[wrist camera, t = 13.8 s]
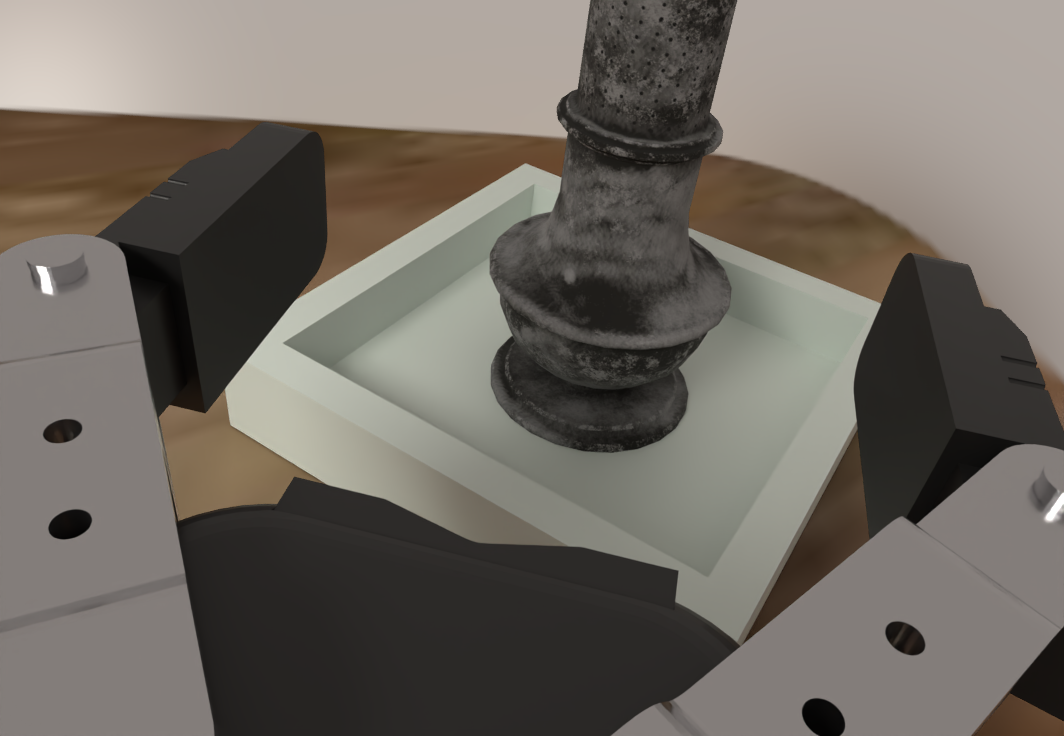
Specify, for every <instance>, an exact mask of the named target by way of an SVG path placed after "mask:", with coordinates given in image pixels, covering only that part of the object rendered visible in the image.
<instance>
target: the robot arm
mask: <svg viewBox="0 0 1064 736" xmlns="http://www.w3.org/2000/svg"><path fill="white" fill-rule="evenodd" d="M326 243H327V212H326V189H325V166H324V149H323V143H322V140H321V138H320V136H319V134H318V133H316V132H313V131H308V130H303V129H298V128H293V127H288V126H283V125H278V124H273V123H268V122H263V123H261V124H259V125H258V126H257V127H255V128H254V129H253V130H252V131H250V132H249V133H248V134H247V135H246V136H244V137H243V138H242V139H241V140H240V141H238V142H237V143H236V144H235V145H234V146H232V147H231V148H230V149H229V150H227V149H221V150H218V151H215V152H213V153H210V154H207V155H205V156H202V157H199V158H197V159H194V160H191V161H189V162H188V163H187V164H186V165H184V166H183V167H182V168H181V169H179V170H178V171H177V172H176V173H174V174H173V175H172V176H171V177H169V178H168V183H167V182H163V183H162V184H161V185H159V186H158V187H157V188H156V189H154V190H153V191H152V192H150V197H147V196H145V197H144V198H143V199H142V200H140V201H139V202H138V203H137V204H135V205H134V206H133V207H132V208H130V209H129V210H128V211H127V212H125V213H124V214H123V215H122V216H120V217H119V218H118V219H117V220H115V221H114V222H113V223H112V224H110V225H109V226H108V227H107V228H105V229H104V230H103V231H102V232H100V233H99V234H98V235H96V236H95V237H94V236H89V235H79V234H64V235H53V236H47V237H41V238H37V239H33V240H30V241H27V242H24V243H21V244H19V245H16V246H14V247H12V248H10V249H9V250H7V251H5V252H3V253H2V254H1V255H0V736H975V735H976V733H977V732H978V731H979V730H980V729H981V727H982V726H983V725H984V724H985V723H986V721H987V720H988V719H989V718H990V717H991V715H992V714H993V713H994V712H995V711H996V709H997V708H998V707H999V706H1000V705H1001V703H1002V702H1003V701H1004V700H1005V699H1006V697H1007V696H1008V695H1009V694H1010V693H1011V694H1013V695H1015V696H1016V697H1018V698H1020V699H1022V700H1024V701H1026V702H1028V703H1030V704H1032V705H1034V706H1036V707H1038V708H1039V709H1041V710H1043V711H1045V712H1047V713H1049V714H1051V715H1053V716H1055V717H1057V718H1059V719H1060V720H1062V721H1064V431H1063V428H1062V426H1061V423H1060V421H1059V418H1058V415H1057V413H1056V410H1055V408H1054V405H1053V403H1052V400H1051V398H1050V395H1049V392H1048V391H1047V390H1044V388H1045V382H1044V380H1043V377H1042V374H1041V372H1040V369H1039V368H1036V364H1037V362H1036V359H1035V356H1034V354H1033V351H1032V349H1031V346H1030V344H1029V341H1028V339H1027V336H1026V335H1025V334H1024V333H1023V332H1022V331H1021V330H1020V329H1019V328H1018V327H1017V326H1016V325H1015V324H1014V323H1013V322H1012V321H1011V320H1010V319H1009V318H1008V317H1007V316H1006V315H1005V314H1004V313H1003V312H1002V311H1001V310H999V309H994V308H989V307H985V306H984V305H983V302H982V299H981V296H980V294H979V291H978V288H977V285H976V282H975V279H974V276H973V273H972V270H971V268H970V267H969V265H967V264H963V263H958V262H953V261H948V260H943V259H938V258H933V257H928V256H923V255H918V254H913V253H908V254H906V255H905V256H904V257H903V258H902V260H901V261H900V263H899V265H898V267H897V269H896V271H895V273H894V276H893V278H892V280H891V282H890V285H889V287H888V289H887V292H886V294H885V296H884V299H883V301H882V303H881V306H880V308H879V310H878V312H877V315H876V317H875V319H874V322H873V324H872V326H871V329H870V331H869V333H868V335H867V338H866V340H865V342H864V345H863V347H862V350H861V353H860V355H859V359H858V362H857V367H856V371H855V377H854V390H853V391H854V402H855V411H856V420H857V429H858V438H859V447H860V456H861V465H862V474H863V483H864V492H865V501H866V510H867V519H868V528H869V537H870V540H869V541H868V542H867V543H865V544H864V545H863V546H862V547H860V548H859V549H858V550H857V551H856V552H854V553H853V554H852V555H851V556H850V557H848V558H847V559H846V560H845V561H844V562H842V563H841V564H840V565H839V566H837V567H836V568H835V569H834V570H833V571H831V572H830V573H829V574H828V575H827V576H825V577H824V578H823V579H822V580H820V581H819V582H818V583H817V584H816V585H814V586H813V587H812V588H811V589H810V590H808V591H807V592H806V593H805V594H803V595H802V596H801V597H800V598H799V599H797V600H796V601H795V602H794V603H793V604H791V605H790V606H789V607H788V608H787V609H785V610H784V611H783V612H782V613H780V614H779V615H778V616H777V617H776V618H774V619H773V620H772V621H771V622H770V623H768V624H767V625H766V626H765V627H763V628H762V629H761V630H760V631H759V632H757V633H756V634H755V635H754V636H753V637H751V638H750V639H749V640H748V641H746V642H745V643H744V644H743V645H742V646H740V645H739V644H738V643H737V642H736V641H735V640H734V639H733V638H731V637H730V636H729V635H727V634H726V633H725V632H723V631H722V630H721V629H720V628H718V627H717V626H716V625H714V624H713V623H712V622H710V621H708V620H707V619H705V618H704V617H702V616H700V615H699V614H697V613H696V612H694V611H692V610H691V609H689V608H687V607H685V606H683V605H681V604H679V603H677V602H675V599H676V590H677V581H678V572H679V571H678V570H674V569H670V568H665V567H661V566H657V565H653V564H649V563H645V562H641V561H637V560H633V559H629V558H625V557H620V556H616V555H612V554H608V553H604V552H600V551H596V550H592V549H588V548H584V547H572V546H544V545H516V544H489V543H478V542H474V541H471V540H468V539H466V538H464V537H462V536H460V535H458V534H455V533H453V532H451V531H449V530H447V529H445V528H443V527H441V526H439V525H437V524H435V523H433V522H431V521H429V520H427V519H425V518H423V517H421V516H419V515H417V514H415V513H413V512H411V511H409V510H407V509H405V508H403V507H401V506H399V505H396V504H394V503H392V502H390V501H388V500H386V499H383V498H379V497H375V496H371V495H367V494H363V493H359V492H354V491H350V490H346V489H342V488H338V487H334V486H330V485H326V484H322V483H318V482H314V481H309V480H305V479H301V478H297V477H294V478H293V480H292V481H291V483H290V485H289V486H288V488H287V489H286V491H285V493H284V494H283V496H282V498H281V499H280V501H279V502H278V504H257V505H242V506H236V507H230V508H223V509H218V510H214V511H210V512H206V513H202V514H198V515H195V516H192V517H189V518H186V519H183V520H180V519H179V514H178V509H177V504H176V499H175V494H174V489H173V484H172V479H171V474H170V469H169V464H168V459H167V454H166V449H165V444H164V439H163V434H162V429H161V424H160V420H159V416H160V415H161V414H162V413H163V411H164V410H165V409H166V408H167V407H168V406H169V405H173V406H177V407H181V408H185V409H190V410H194V411H198V412H202V413H206V412H207V411H208V409H209V408H210V407H211V406H212V404H213V403H214V402H215V401H216V399H217V398H218V397H219V396H220V394H221V393H222V392H223V391H224V389H225V388H226V387H227V386H228V384H229V383H230V382H231V380H232V379H233V378H234V377H235V375H236V374H237V373H238V372H239V370H240V369H241V368H242V367H243V365H244V364H245V363H246V362H247V360H248V359H249V358H250V357H251V355H252V354H253V353H254V352H255V350H256V349H257V348H258V346H259V345H260V344H261V343H262V341H263V340H264V339H265V338H266V336H267V335H268V334H269V333H270V331H271V330H272V329H273V328H274V326H275V325H276V324H277V323H278V321H279V320H280V319H281V317H282V316H283V315H284V314H285V312H286V311H287V310H288V309H289V307H290V306H291V305H292V304H293V302H294V301H295V300H296V299H297V297H298V296H299V295H300V294H301V292H302V291H303V290H304V289H305V287H306V286H307V285H308V283H309V282H310V281H311V280H312V278H313V277H314V276H315V275H316V273H317V272H318V270H319V268H320V266H321V263H322V260H323V258H324V254H325V249H326Z"/></svg>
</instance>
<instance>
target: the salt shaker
mask: <svg viewBox="0 0 1064 736" xmlns="http://www.w3.org/2000/svg"><path fill="white" fill-rule="evenodd" d="M736 3H737V0H591V1H590V8H589V15H588V22H587V29H586V36H585V43H584V50H583V57H582V64H581V70H580V77H579V84H578V89H577V90H574V91H572V92H570V93H569V94H567V95H566V96H565V97H563V98H562V99H561V100H560V102H559V104H558V106H557V116H558V120H559V121H560V123H561V124H562V125H563V127H564V128H565V129H566V131H567V132H568V136H567V143H566V150H565V158H564V165H563V172H562V179H561V186H560V192H559V194H558V197H557V200H556V202H555V205H554V208H553V210H552V211H551V212H547V213H542V214H537V215H534V216H532V217H529V218H527V219H525V220H523V221H520V222H518V223H516V224H514V225H513V226H512V227H510V228H509V229H508V230H507V231H506V232H504V233H503V234H502V235H501V236H500V237H498V239H497V241H496V243H495V244H494V246H493V248H492V250H491V252H490V273H489V274H490V276H491V278H492V280H493V283H494V285H495V287H496V289H497V291H498V293H499V294H500V305H501V308H502V310H503V313H504V316H505V318H506V321H507V324H508V326H509V329H510V331H511V333H512V335H513V336H511V337H510V338H509V339H508V340H507V341H506V342H505V343H504V344H503V345H502V346H501V347H500V348H499V349H498V350H497V352H496V355H495V357H494V359H493V361H492V364H491V387H492V390H493V392H494V395H495V397H496V400H497V402H498V403H499V405H500V406H501V407H502V408H503V409H504V411H505V412H506V413H507V414H508V415H509V417H510V418H511V419H512V420H514V421H515V422H516V423H518V424H519V425H520V426H522V427H523V428H525V429H526V430H527V431H529V432H530V433H531V434H534V435H536V436H538V437H540V438H543V439H545V440H547V441H549V442H552V443H554V444H556V445H560V446H564V447H568V448H572V449H577V450H581V451H588V452H606V453H614V452H621V451H628V450H635V449H639V448H642V447H645V446H647V445H650V444H652V443H655V442H658V441H660V440H661V439H663V438H664V437H665V436H666V435H668V434H669V433H670V432H672V431H673V430H674V429H676V427H677V426H678V424H679V422H680V421H681V419H682V418H683V416H684V414H685V412H686V407H687V400H688V390H687V386H686V382H685V378H684V376H683V374H682V373H681V371H680V370H679V367H680V366H681V365H682V364H683V363H684V362H685V361H686V360H687V359H688V358H689V357H690V356H691V355H692V354H693V352H694V351H695V350H696V349H697V348H698V347H699V345H700V344H701V342H702V341H703V339H704V338H705V336H706V335H707V333H708V331H710V330H711V329H713V328H714V327H715V326H717V325H718V324H719V323H720V322H721V320H722V319H723V317H724V315H725V314H726V312H727V311H728V309H729V307H730V301H731V290H732V287H731V285H730V282H729V279H728V277H727V274H726V271H725V269H724V268H723V267H722V265H721V264H720V263H719V262H718V260H717V259H716V258H715V257H714V256H713V254H712V253H711V252H710V251H709V250H707V249H706V248H705V247H703V246H702V245H701V244H699V243H698V242H697V241H695V240H694V239H693V238H692V237H690V236H689V229H688V225H689V210H690V206H691V202H692V198H693V194H694V190H695V186H696V182H697V178H698V173H699V169H700V165H701V161H702V157H703V156H705V155H708V154H710V153H712V152H714V151H715V150H716V149H717V147H718V146H719V145H720V144H721V142H722V136H723V130H722V128H721V126H720V124H719V122H718V120H717V119H716V118H715V117H714V116H713V115H712V114H711V113H710V109H711V105H712V101H713V97H714V93H715V89H716V85H717V81H718V77H719V73H720V69H721V64H722V60H723V56H724V52H725V48H726V44H727V40H728V36H729V32H730V27H731V24H732V19H733V15H734V11H735V7H736Z"/></svg>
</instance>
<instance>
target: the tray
mask: <svg viewBox="0 0 1064 736" xmlns="http://www.w3.org/2000/svg"><path fill="white" fill-rule="evenodd" d="M561 179H562V178H561V177H559V176H556V175H553V174H551V173H548V172H546V171H543V170H541V169H538V168H536V167H533V166H531V165H528V164H526V163H525V164H524V165H522V166H520V167H519V168H517V169H515V170H514V171H512V172H510V173H509V174H507V175H505V176H504V177H502V178H500V179H498V180H497V181H495V182H493V183H492V184H490V185H488V186H487V187H485V188H483V189H482V190H480V191H478V192H477V193H475V194H473V195H472V196H470V197H468V198H467V199H465V200H463V201H461V202H460V203H458V204H456V205H455V206H453V207H451V208H450V209H448V210H446V211H445V212H443V213H441V214H440V215H438V216H436V217H435V218H433V219H431V220H430V221H428V222H426V223H424V224H423V225H421V226H419V227H418V228H416V229H414V230H413V231H411V232H409V233H408V234H406V235H404V236H403V237H401V238H399V239H398V240H396V241H394V242H393V243H391V244H389V245H387V246H386V247H384V248H382V249H381V250H379V251H377V252H376V253H374V254H372V255H371V256H369V257H367V258H366V259H364V260H362V261H361V262H359V263H357V264H356V265H354V266H352V267H350V268H349V269H347V270H345V271H344V272H342V273H340V274H339V275H337V276H335V277H334V278H332V279H330V280H329V281H327V282H325V283H324V284H322V285H320V286H319V287H317V288H315V289H313V290H312V291H310V292H308V293H307V294H305V295H303V296H302V297H300V298H298V299H297V300H295V301H294V302H293V304H292V305H291V306H290V307H289V309H288V310H287V311H286V312H285V314H284V315H283V316H282V317H281V319H280V320H279V321H278V323H277V324H276V325H275V326H274V328H273V329H272V330H271V331H270V333H269V334H268V335H267V336H266V338H265V339H264V340H263V341H262V343H261V344H260V345H259V346H258V348H257V349H256V350H255V352H254V353H253V354H252V355H251V357H250V358H249V359H248V360H247V362H246V363H245V364H244V365H243V367H242V368H241V369H240V370H239V372H238V373H237V374H236V375H235V377H234V378H233V379H232V380H231V382H230V383H229V384H228V386H227V387H226V388H225V392H226V398H227V405H228V412H229V419H230V425H231V426H233V427H235V428H236V429H238V430H239V431H241V432H243V433H244V434H246V435H248V436H249V437H251V438H252V439H254V440H256V441H257V442H259V443H261V444H262V445H264V446H265V447H267V448H269V449H270V450H272V451H274V452H275V453H277V454H278V455H280V456H282V457H283V458H285V459H287V460H288V461H290V462H292V463H293V464H295V465H296V466H298V467H300V468H301V469H303V470H305V471H306V472H308V473H309V474H311V475H313V476H314V477H316V478H318V479H319V480H321V481H322V482H324V483H326V484H327V485H330V486H334V487H338V488H342V489H346V490H350V491H354V492H359V493H363V494H367V495H371V496H375V497H379V498H383V499H386V500H388V501H390V502H392V503H394V504H396V505H399V506H401V507H403V508H405V509H407V510H409V511H411V512H413V513H415V514H417V515H419V516H421V517H423V518H425V519H427V520H429V521H431V522H433V523H435V524H437V525H439V526H441V527H443V528H445V529H447V530H449V531H451V532H453V533H455V534H458V535H460V536H462V537H464V538H466V539H468V540H471V541H474V542H478V543H489V544H516V545H544V546H572V547H584V548H588V549H592V550H596V551H600V552H604V553H608V554H612V555H616V556H620V557H625V558H629V559H633V560H637V561H641V562H645V563H649V564H653V565H657V566H661V567H665V568H670V569H674V570H678V571H679V572H678V581H677V590H676V599H675V602H677V603H679V604H681V605H683V606H685V607H687V608H689V609H691V610H692V611H694V612H696V613H697V614H699V615H700V616H702V617H704V618H705V619H707V620H708V621H710V622H712V623H713V624H714V625H716V626H717V627H718V628H720V629H721V630H722V631H723V632H725V633H726V634H727V635H729V636H730V637H731V638H733V639H734V640H735V641H736V642H737V643H738V644H739V645H740V646H742V644H743V642H744V641H745V639H746V637H747V635H748V633H749V631H750V629H751V627H752V626H753V624H754V622H755V620H756V618H757V616H758V614H759V612H760V611H761V609H762V607H763V605H764V603H765V601H766V599H767V597H768V596H769V594H770V592H771V590H772V588H773V586H774V584H775V583H776V581H777V579H778V577H779V575H780V573H781V571H782V569H783V568H784V566H785V564H786V562H787V560H788V558H789V556H790V554H791V553H792V551H793V549H794V547H795V545H796V543H797V541H798V539H799V538H800V536H801V534H802V532H803V530H804V528H805V526H806V524H807V523H808V521H809V519H810V517H811V515H812V513H813V511H814V510H815V508H816V506H817V504H818V502H819V500H820V498H821V496H822V495H823V493H824V491H825V489H826V487H827V485H828V483H829V481H830V480H831V478H832V476H833V474H834V472H835V470H836V468H837V466H838V465H839V463H840V461H841V459H842V457H843V455H844V453H845V451H846V450H847V448H848V446H849V444H850V442H851V440H852V438H853V436H854V435H855V433H856V431H857V420H856V411H855V402H854V391H853V390H854V377H855V371H856V367H857V362H858V359H859V355H860V353H861V350H862V347H863V345H864V342H865V340H866V338H867V335H868V333H869V331H870V329H871V326H872V324H873V322H874V319H875V317H876V315H877V312H878V310H879V308H880V306H881V304H880V303H878V302H875V301H873V300H870V299H868V298H865V297H863V296H860V295H858V294H855V293H853V292H850V291H848V290H845V289H842V288H840V287H837V286H835V285H832V284H830V283H827V282H825V281H822V280H820V279H817V278H815V277H812V276H809V275H807V274H804V273H802V272H799V271H797V270H794V269H792V268H789V267H787V266H784V265H782V264H779V263H777V262H774V261H771V260H769V259H766V258H764V257H761V256H759V255H756V254H754V253H751V252H749V251H746V250H744V249H741V248H739V247H736V246H733V245H731V244H728V243H726V242H723V241H721V240H718V239H716V238H713V237H711V236H708V235H706V234H703V233H700V232H698V231H695V230H693V229H690V228H688V229H689V236H690V237H692V238H693V239H694V240H695V241H697V242H698V243H699V244H701V245H702V246H703V247H705V248H706V249H707V250H709V251H710V252H711V253H712V254H713V256H714V257H715V258H716V259H717V260H718V262H719V263H720V264H721V265H722V267H723V268H724V269H725V271H726V274H727V277H728V279H729V282H730V285H731V287H732V290H731V301H730V307H729V309H728V311H727V312H726V314H725V315H724V317H723V319H722V320H721V322H720V323H719V324H718V325H717V326H715V327H714V328H713V329H711V330H710V331H708V333H707V335H706V336H705V338H704V339H703V341H702V342H701V344H700V345H699V347H698V348H697V349H696V350H695V351H694V352H693V354H692V355H691V356H690V357H689V358H688V359H687V360H686V361H685V362H684V363H683V364H682V365H681V366H680V367H679V370H680V371H681V373H682V374H683V376H684V378H685V382H686V386H687V390H688V400H687V407H686V412H685V414H684V416H683V418H682V419H681V421H680V422H679V424H678V426H677V427H676V429H674V430H673V431H672V432H670V433H669V434H668V435H666V436H665V437H664V438H663V439H661V440H660V441H658V442H655V443H652V444H650V445H647V446H645V447H642V448H639V449H635V450H628V451H621V452H614V453H606V452H588V451H581V450H577V449H572V448H568V447H564V446H560V445H556V444H554V443H552V442H549V441H547V440H545V439H543V438H540V437H538V436H536V435H534V434H531V433H530V432H529V431H527V430H526V429H525V428H523V427H522V426H520V425H519V424H518V423H516V422H515V421H514V420H512V419H511V418H510V417H509V415H508V414H507V413H506V412H505V411H504V409H503V408H502V407H501V406H500V405H499V403H498V402H497V400H496V397H495V395H494V392H493V390H492V387H491V364H492V361H493V359H494V357H495V355H496V352H497V350H498V349H499V348H500V347H501V346H502V345H503V344H504V343H505V342H506V341H507V340H508V339H509V338H510V337H511V336H513V335H512V333H511V331H510V329H509V326H508V324H507V321H506V318H505V316H504V313H503V310H502V308H501V305H500V294H499V293H498V291H497V289H496V287H495V285H494V283H493V280H492V278H491V276H490V274H489V273H490V252H491V250H492V248H493V246H494V244H495V243H496V241H497V239H498V237H500V236H501V235H502V234H503V233H504V232H506V231H507V230H508V229H509V228H510V227H512V226H513V225H514V224H516V223H518V222H520V221H523V220H525V219H527V218H529V217H532V216H534V215H537V214H542V213H547V212H551V211H552V210H553V208H554V205H555V202H556V200H557V197H558V194H559V192H560V186H561Z"/></svg>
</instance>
